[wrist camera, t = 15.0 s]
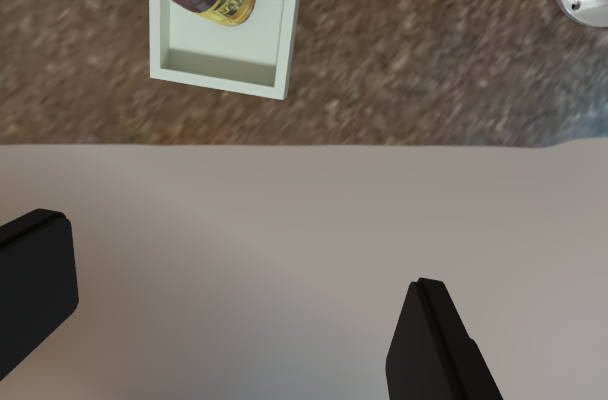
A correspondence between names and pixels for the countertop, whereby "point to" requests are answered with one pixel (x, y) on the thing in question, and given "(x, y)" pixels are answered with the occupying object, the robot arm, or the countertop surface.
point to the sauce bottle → (220, 10)
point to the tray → (225, 48)
